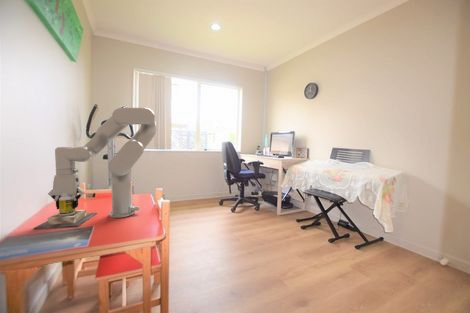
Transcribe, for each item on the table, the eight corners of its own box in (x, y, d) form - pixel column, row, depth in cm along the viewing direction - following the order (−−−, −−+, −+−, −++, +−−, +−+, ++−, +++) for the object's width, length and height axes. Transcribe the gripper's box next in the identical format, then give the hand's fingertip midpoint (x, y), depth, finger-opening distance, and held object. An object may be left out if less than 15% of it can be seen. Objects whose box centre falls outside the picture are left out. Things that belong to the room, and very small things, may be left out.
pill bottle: (66, 216, 100) (65, 193, 99) (56, 215, 101) (55, 193, 100) (78, 212, 106) (77, 191, 105) (68, 211, 107) (67, 190, 106)
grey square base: (96, 213, 114) (96, 207, 114) (78, 226, 97) (77, 219, 96) (59, 215, 111) (59, 209, 111) (33, 229, 93) (33, 221, 93)
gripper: (89, 170, 107) (90, 205, 109) (51, 171, 104) (52, 206, 106) (81, 172, 100) (82, 209, 101) (40, 173, 97) (41, 211, 98)
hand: (67, 207), depth 103 cm, fingers closed on pill bottle, 6 cm apart
